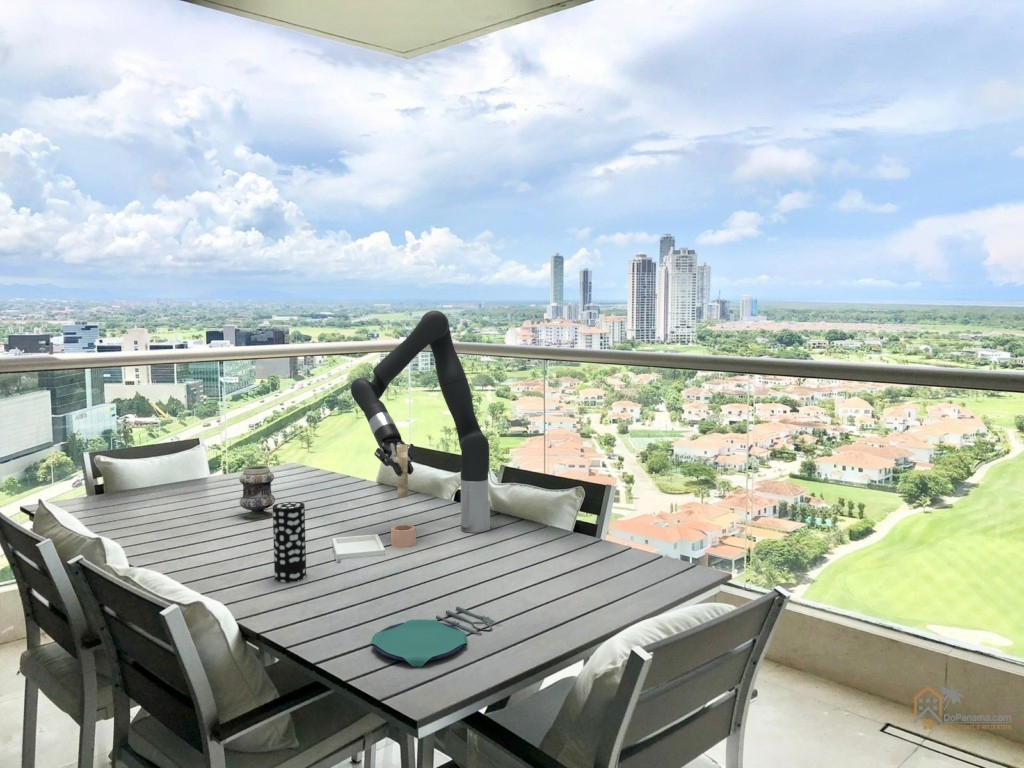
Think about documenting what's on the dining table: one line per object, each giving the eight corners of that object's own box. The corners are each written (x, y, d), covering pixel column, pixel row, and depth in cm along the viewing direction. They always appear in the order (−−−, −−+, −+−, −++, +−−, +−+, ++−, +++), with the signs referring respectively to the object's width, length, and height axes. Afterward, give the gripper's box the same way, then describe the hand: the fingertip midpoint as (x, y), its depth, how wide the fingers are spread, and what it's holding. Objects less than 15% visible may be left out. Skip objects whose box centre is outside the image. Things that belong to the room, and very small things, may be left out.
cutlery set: (353, 648, 159) (353, 637, 159) (454, 609, 181) (454, 600, 181) (415, 678, 146) (415, 667, 145) (515, 633, 168) (515, 623, 168)
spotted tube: (297, 583, 197) (295, 510, 196) (268, 581, 199) (266, 508, 197) (311, 573, 206) (310, 502, 204) (284, 571, 207) (282, 501, 206)
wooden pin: (407, 495, 230) (406, 444, 229) (408, 497, 227) (408, 445, 226) (396, 495, 230) (395, 444, 228) (398, 498, 226) (397, 446, 225)
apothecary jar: (275, 511, 273) (273, 463, 272) (275, 519, 262) (274, 469, 261) (240, 513, 270) (238, 465, 268) (239, 522, 258) (237, 471, 257)
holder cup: (413, 542, 234) (413, 523, 234) (417, 549, 227) (417, 530, 227) (389, 544, 232) (389, 525, 232) (393, 551, 225) (392, 532, 224)
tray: (377, 542, 235) (377, 534, 235) (385, 558, 219) (385, 549, 218) (332, 546, 231) (332, 538, 230) (336, 562, 214) (336, 554, 214)
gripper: (369, 424, 228) (390, 469, 219) (407, 420, 237) (430, 463, 229) (360, 439, 232) (381, 484, 224) (399, 435, 241) (420, 477, 233)
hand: (406, 473), depth 226 cm, fingers closed on wooden pin, 3 cm apart
